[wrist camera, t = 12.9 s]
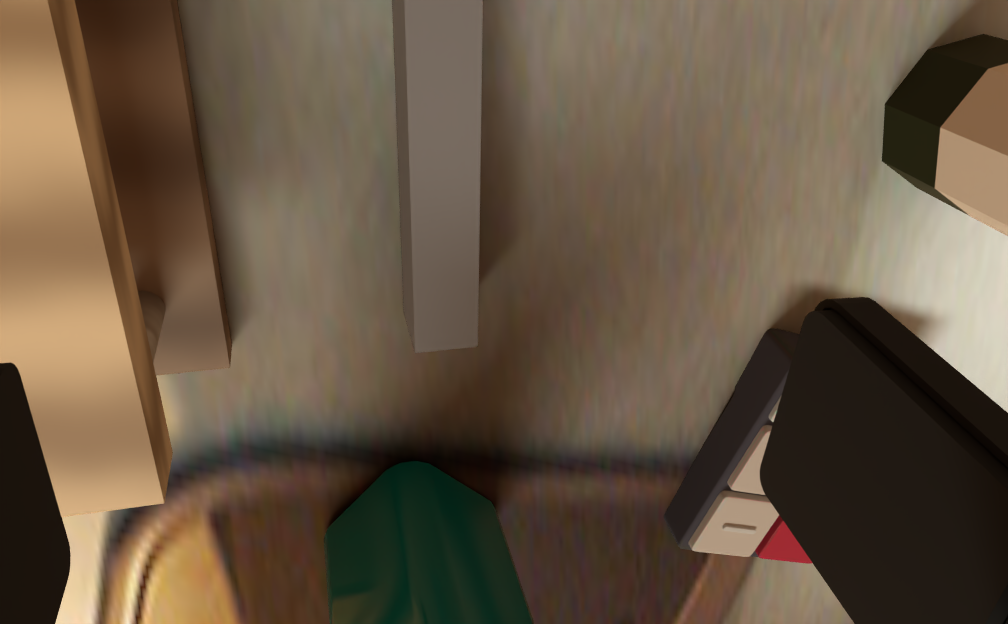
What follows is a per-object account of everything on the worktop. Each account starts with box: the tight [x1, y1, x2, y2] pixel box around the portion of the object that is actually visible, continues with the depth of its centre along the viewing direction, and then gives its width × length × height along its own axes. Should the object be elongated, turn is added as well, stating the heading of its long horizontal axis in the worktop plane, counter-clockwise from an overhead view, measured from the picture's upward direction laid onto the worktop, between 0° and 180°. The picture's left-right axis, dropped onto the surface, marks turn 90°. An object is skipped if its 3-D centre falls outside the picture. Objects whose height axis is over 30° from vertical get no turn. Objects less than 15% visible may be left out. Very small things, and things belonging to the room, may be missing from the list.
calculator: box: [664, 329, 812, 563], centre depth 52 cm, size 11×4×15 cm
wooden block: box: [0, 0, 173, 517], centre depth 26 cm, size 22×6×3 cm, turn 178°
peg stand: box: [75, 0, 232, 375], centre depth 30 cm, size 22×10×8 cm, turn 178°
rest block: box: [392, 0, 483, 353], centre depth 35 cm, size 20×3×4 cm, turn 178°
